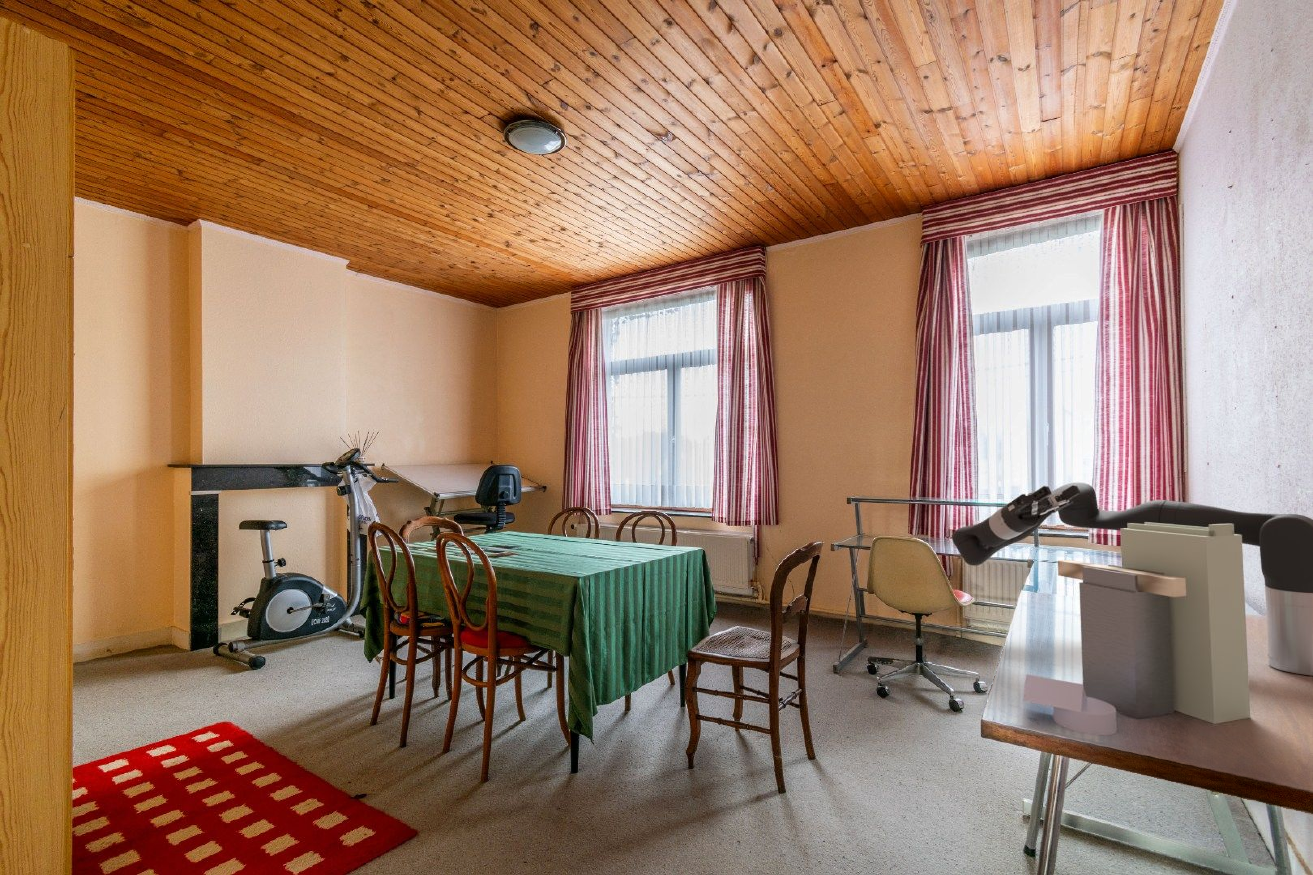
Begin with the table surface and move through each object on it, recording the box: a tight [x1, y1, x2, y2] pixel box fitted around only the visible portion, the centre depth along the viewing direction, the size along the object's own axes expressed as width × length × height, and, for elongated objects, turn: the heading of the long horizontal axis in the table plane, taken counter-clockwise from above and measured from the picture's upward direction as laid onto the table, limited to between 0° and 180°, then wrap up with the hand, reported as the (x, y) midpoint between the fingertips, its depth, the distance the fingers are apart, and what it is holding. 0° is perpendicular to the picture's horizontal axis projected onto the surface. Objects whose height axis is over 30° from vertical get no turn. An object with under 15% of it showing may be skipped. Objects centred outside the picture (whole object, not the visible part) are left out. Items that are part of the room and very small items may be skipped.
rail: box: [1057, 559, 1186, 597], centre depth 118 cm, size 22×3×3 cm, turn 16°
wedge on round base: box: [1022, 674, 1118, 736], centre depth 110 cm, size 9×7×13 cm
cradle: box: [1078, 564, 1175, 720], centre depth 117 cm, size 10×9×25 cm
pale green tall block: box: [1120, 522, 1251, 725], centre depth 117 cm, size 15×9×34 cm, turn 17°
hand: (1063, 489), depth 144 cm, fingers open, 8 cm apart
